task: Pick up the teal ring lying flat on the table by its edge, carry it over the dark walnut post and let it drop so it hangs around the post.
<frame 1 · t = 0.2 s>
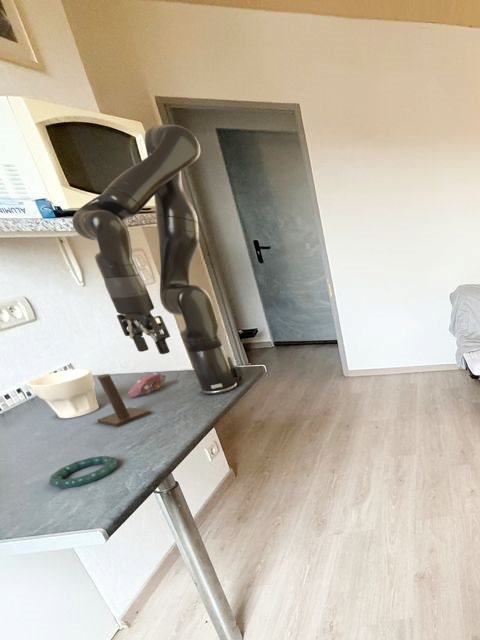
hand: (154, 352, 115), 17 cm above the table, tool pointing down, fingers open, 8 cm apart
post: (124, 418, 117), on the table
cup: (79, 412, 121), on the table
ring: (84, 471, 92), point 1 cm above the table
pink oval lump: (151, 392, 133), on the table
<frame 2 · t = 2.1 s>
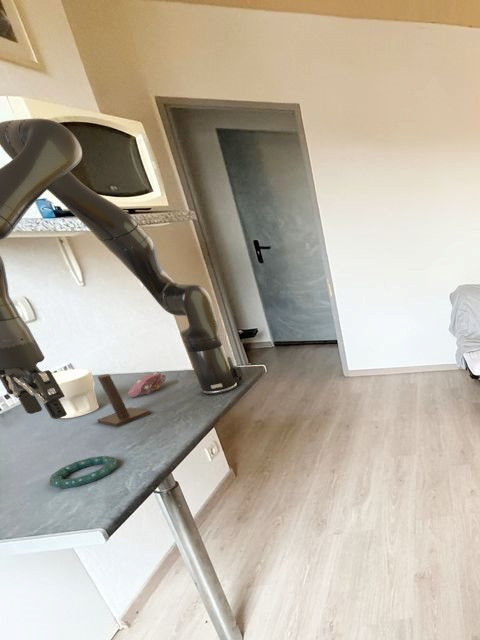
hand: (47, 414, 89), 14 cm above the table, tool pointing down, fingers open, 8 cm apart
nothing on the table moved.
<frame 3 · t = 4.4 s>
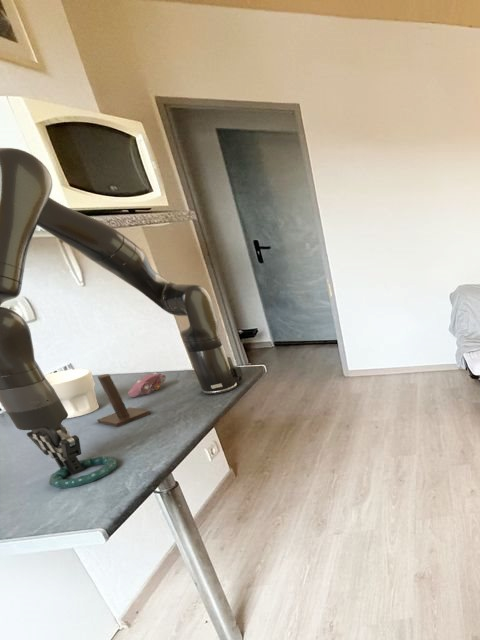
hand: (73, 471, 93), 0 cm above the table, tool pointing down, fingers closed on ring, 2 cm apart
ring: (84, 471, 92), point 1 cm above the table, touching gripper
everything else where it was.
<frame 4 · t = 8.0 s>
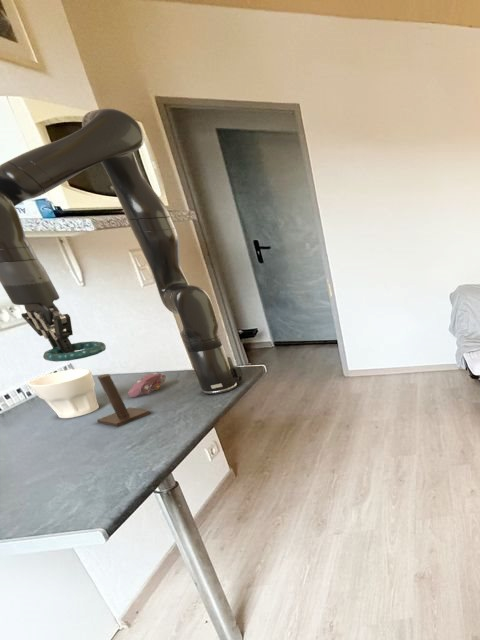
hand: (65, 352, 102), 22 cm above the table, tool pointing down, fingers closed on ring
ring: (75, 351, 100), point 22 cm above the table, touching gripper
everything else where it was.
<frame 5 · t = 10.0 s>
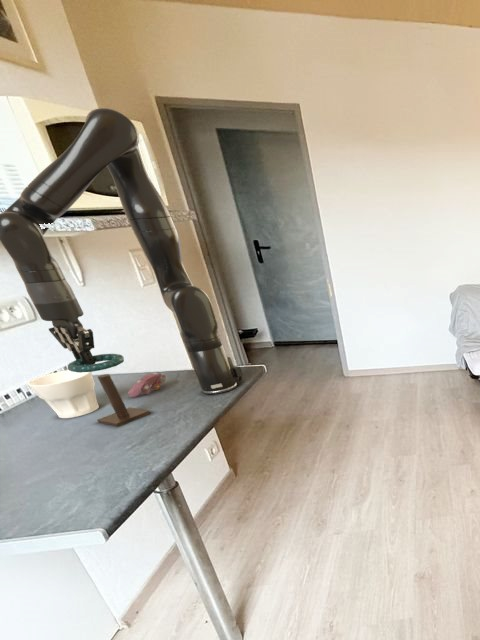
hand: (87, 363, 111), 16 cm above the table, tool pointing down, fingers closed on ring
ring: (96, 362, 109), point 17 cm above the table, touching gripper
everything else where it was.
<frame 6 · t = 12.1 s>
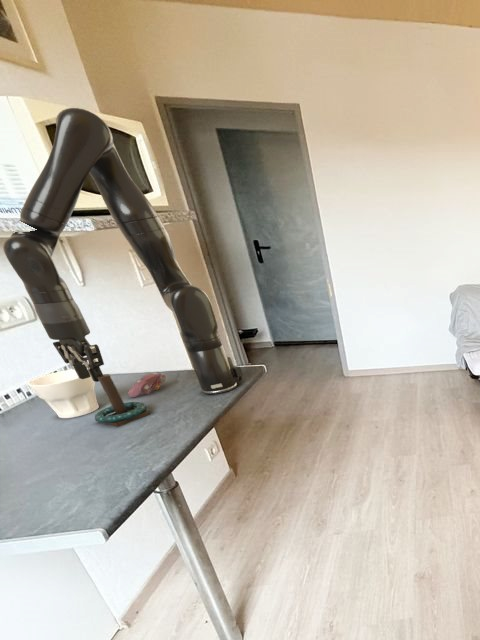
hand: (92, 379, 113), 11 cm above the table, tool pointing down, fingers open, 5 cm apart
ring: (121, 411, 116), point 2 cm above the table, touching post
everything else where it was.
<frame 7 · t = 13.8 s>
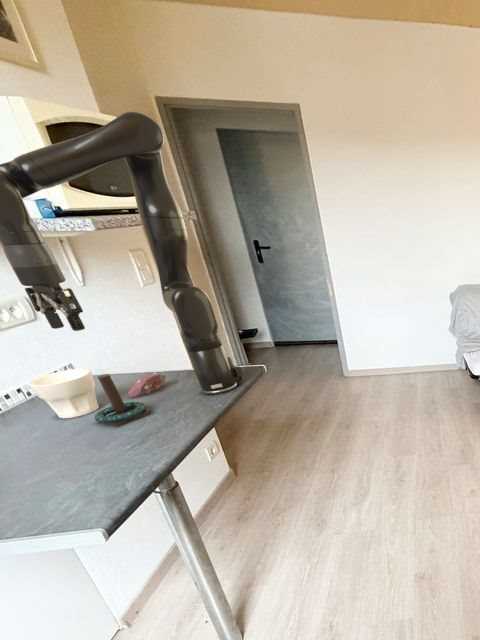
hand: (68, 329, 107), 26 cm above the table, tool pointing down, fingers open, 8 cm apart
nothing on the table moved.
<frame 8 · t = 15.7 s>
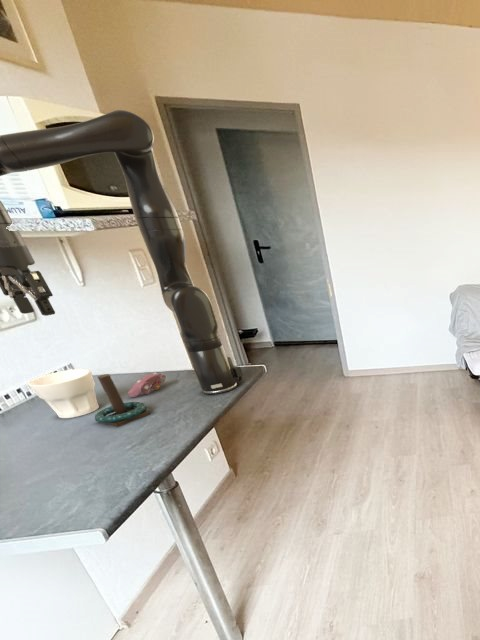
hand: (38, 313, 103), 30 cm above the table, tool pointing down, fingers open, 8 cm apart
nothing on the table moved.
at the end: ring 0.6 cm off-centre on the post, point 1.9 cm above the post's base; the gripper is holding nothing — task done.
